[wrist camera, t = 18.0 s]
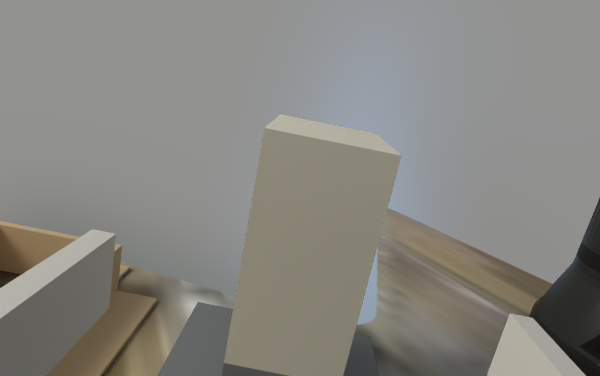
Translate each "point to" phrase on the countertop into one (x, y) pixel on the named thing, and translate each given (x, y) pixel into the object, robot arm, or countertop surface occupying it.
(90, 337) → the carton
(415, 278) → the countertop surface
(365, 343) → the board
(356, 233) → the box
